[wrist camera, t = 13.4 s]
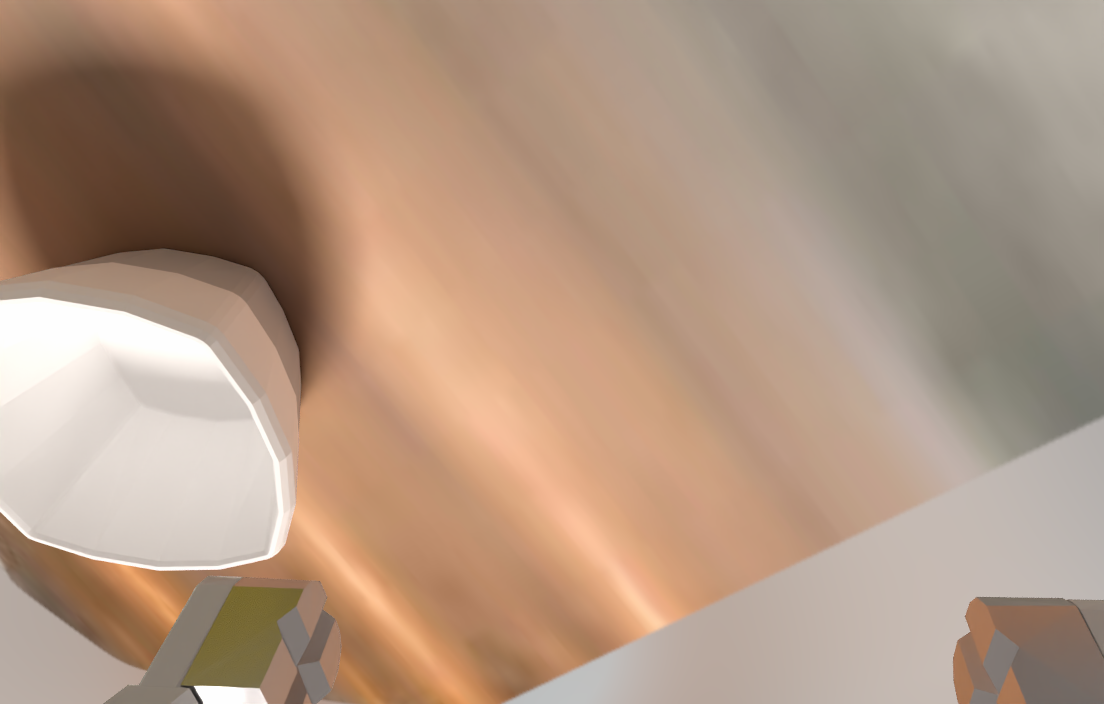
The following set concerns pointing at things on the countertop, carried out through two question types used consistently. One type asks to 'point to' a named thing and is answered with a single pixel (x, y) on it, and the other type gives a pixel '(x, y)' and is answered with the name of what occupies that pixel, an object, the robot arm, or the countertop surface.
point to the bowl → (149, 410)
